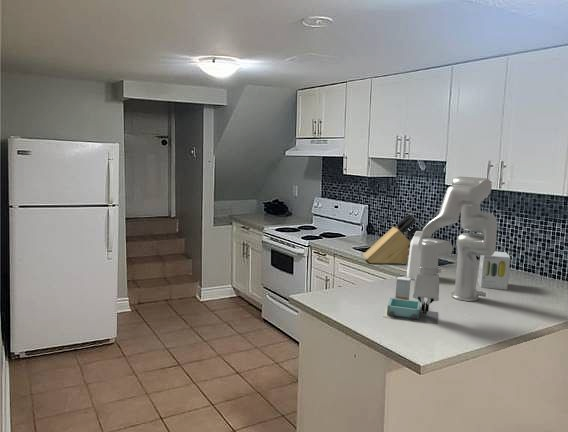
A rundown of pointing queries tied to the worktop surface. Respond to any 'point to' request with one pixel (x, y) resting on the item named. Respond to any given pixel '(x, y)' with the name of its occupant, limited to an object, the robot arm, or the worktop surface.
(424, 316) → the mat
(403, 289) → the skincare box
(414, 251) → the milk
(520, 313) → the worktop surface
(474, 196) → the robot arm
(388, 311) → the teal open tray
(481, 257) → the supplement box
